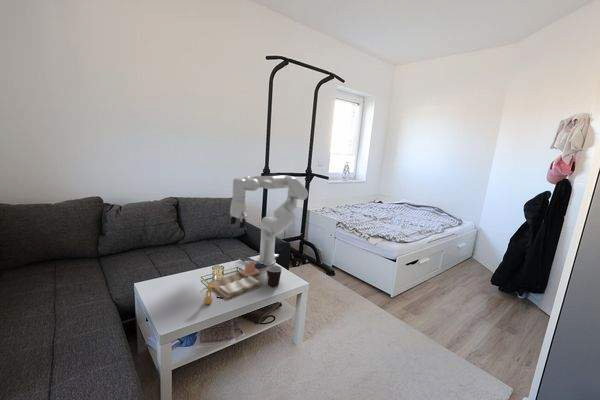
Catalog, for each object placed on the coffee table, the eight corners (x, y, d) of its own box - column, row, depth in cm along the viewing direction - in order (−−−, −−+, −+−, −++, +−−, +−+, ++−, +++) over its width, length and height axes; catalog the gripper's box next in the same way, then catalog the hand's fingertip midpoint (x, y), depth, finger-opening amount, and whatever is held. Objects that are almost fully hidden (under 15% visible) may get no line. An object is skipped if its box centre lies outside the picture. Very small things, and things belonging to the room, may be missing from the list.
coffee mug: (279, 289, 156) (281, 272, 154) (264, 287, 156) (265, 271, 154) (281, 279, 167) (282, 263, 165) (267, 277, 167) (268, 262, 165)
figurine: (215, 299, 140) (216, 278, 138) (218, 306, 135) (219, 283, 133) (198, 303, 136) (198, 280, 134) (200, 309, 131) (200, 286, 129)
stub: (252, 268, 174) (253, 258, 172) (260, 272, 169) (260, 261, 168) (239, 273, 167) (240, 262, 165) (246, 277, 162) (247, 266, 161)
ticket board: (244, 273, 170) (244, 269, 170) (263, 285, 158) (263, 281, 158) (208, 285, 153) (208, 281, 152) (226, 300, 141) (226, 295, 140)
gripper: (225, 196, 170) (224, 223, 173) (242, 202, 159) (240, 230, 162) (235, 195, 175) (234, 221, 179) (252, 201, 164) (251, 228, 167)
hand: (237, 225), depth 170 cm, fingers open, 9 cm apart
